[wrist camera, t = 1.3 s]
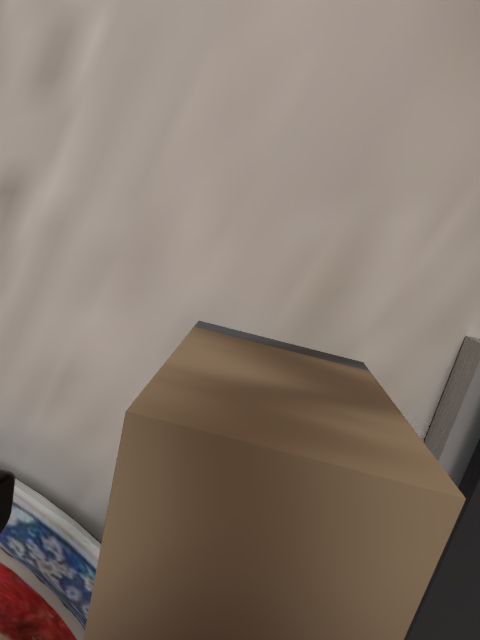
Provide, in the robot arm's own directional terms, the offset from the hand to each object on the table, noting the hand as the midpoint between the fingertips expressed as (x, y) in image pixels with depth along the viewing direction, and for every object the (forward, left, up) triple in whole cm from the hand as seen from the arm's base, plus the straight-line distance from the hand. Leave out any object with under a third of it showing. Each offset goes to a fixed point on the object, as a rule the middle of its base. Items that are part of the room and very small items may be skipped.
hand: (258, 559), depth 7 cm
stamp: (0, 0, -5) cm, 5 cm away
